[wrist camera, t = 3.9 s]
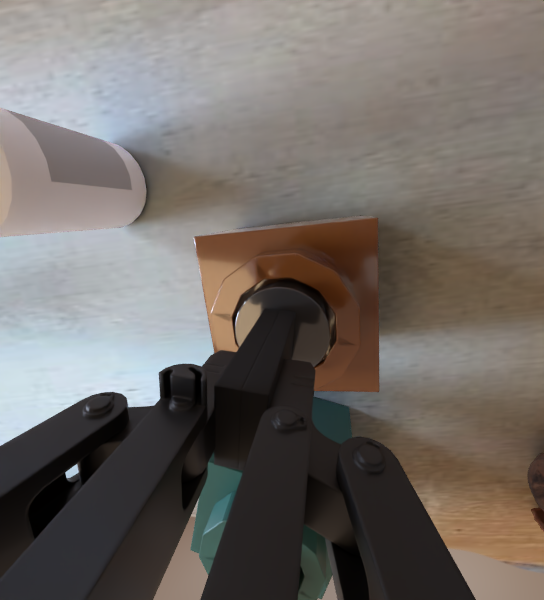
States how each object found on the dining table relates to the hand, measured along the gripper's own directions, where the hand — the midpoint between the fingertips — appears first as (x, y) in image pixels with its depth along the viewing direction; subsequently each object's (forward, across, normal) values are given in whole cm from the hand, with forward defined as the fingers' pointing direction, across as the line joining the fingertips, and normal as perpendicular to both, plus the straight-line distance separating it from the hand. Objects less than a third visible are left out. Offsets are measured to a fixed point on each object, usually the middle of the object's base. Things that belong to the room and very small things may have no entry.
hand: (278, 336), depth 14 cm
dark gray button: (+3, 0, 0) cm, 3 cm away
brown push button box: (+11, 0, 0) cm, 11 cm away
